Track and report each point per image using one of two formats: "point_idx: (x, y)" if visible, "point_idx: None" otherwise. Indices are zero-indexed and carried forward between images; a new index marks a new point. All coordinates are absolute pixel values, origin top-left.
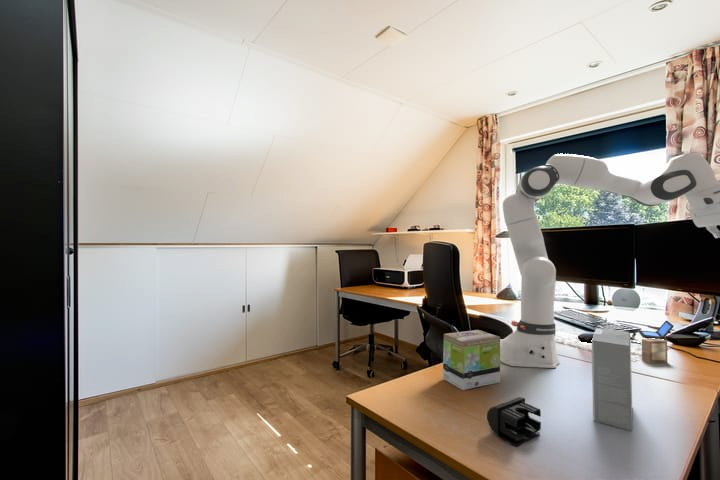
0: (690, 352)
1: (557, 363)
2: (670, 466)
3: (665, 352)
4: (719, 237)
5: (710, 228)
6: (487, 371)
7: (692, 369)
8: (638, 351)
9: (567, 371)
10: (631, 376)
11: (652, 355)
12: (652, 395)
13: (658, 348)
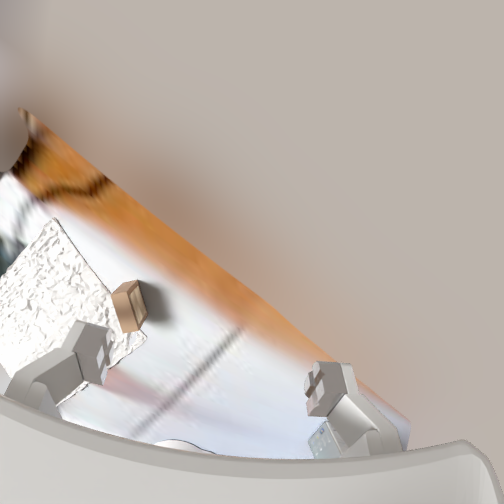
0: (63, 183)
1: (196, 447)
2: (406, 425)
3: (133, 288)
4: (113, 348)
5: (59, 414)
6: None
7: (167, 260)
8: (89, 297)
9: (221, 444)
10: (347, 446)
11: (143, 314)
12: (293, 389)
13: (136, 306)
